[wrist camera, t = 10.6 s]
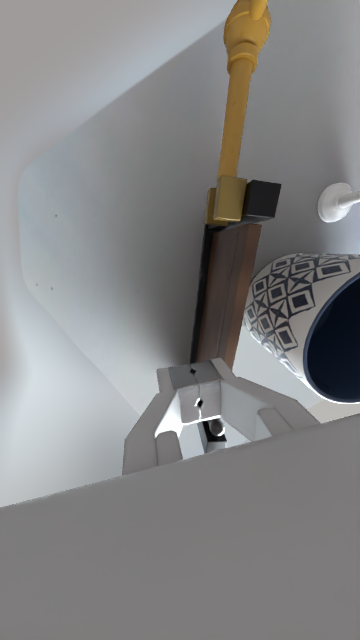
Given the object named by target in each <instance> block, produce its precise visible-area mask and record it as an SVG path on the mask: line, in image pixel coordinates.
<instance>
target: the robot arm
mask: <svg viewBox="0 0 360 640" xmlns="http://www.w3.org/2000/svg"><path fill="white" fill-rule="evenodd" d="M157 378H158V384H159V391H160V393H158V394H156V395H155V397H154V398H153V400H152V401H151V403H150V404H149V405H148V407H147V408H146V410H145V411H144V413H143V414H142V416H141V417H140V419H139V420H138V421H137V423H136V424H135V426H134V427H133V429H132V430H131V432H130V433H129V435H128V436H127V437H126V439H125V444H124V458H123V471H122V476H119V477H115V478H112V479H108V480H104V481H100V482H96V483H92V484H89V485H85V486H81V487H78V488H73V489H70V490H66V491H62V492H59V493H55V494H51V495H47V496H43V497H39V498H36V499H32V500H28V501H24V502H20V503H16V504H12V505H9V506H5V507H1V508H0V640H360V414H356V415H352V416H349V417H344V418H340V419H337V420H333V421H329V422H325V423H320V422H319V421H318V420H317V419H316V418H315V417H314V416H313V415H311V414H310V413H309V412H308V411H307V410H306V409H305V408H304V407H303V406H302V405H301V404H300V403H299V402H298V401H297V400H295V399H293V398H290V397H288V396H285V395H283V394H280V393H278V392H276V391H273V390H271V389H268V388H266V387H263V386H261V385H258V384H256V383H254V382H251V381H249V380H246V379H244V378H241V377H236V376H235V375H234V374H233V372H232V371H231V370H230V369H229V367H228V366H227V365H226V363H225V362H224V361H223V360H222V358H215V359H211V360H207V361H202V362H197V363H192V364H185V365H179V366H173V367H168V368H161V369H157ZM218 417H221V418H222V419H223V420H224V421H226V422H227V423H228V424H230V425H231V426H232V427H234V428H235V429H236V430H237V431H239V432H240V433H241V434H243V435H244V436H245V437H246V438H248V439H249V440H250V441H252V442H249V443H245V444H241V445H237V446H233V447H230V448H226V449H222V450H218V451H214V452H211V453H207V454H203V455H199V456H195V457H192V458H188V459H184V460H183V457H182V453H181V448H180V444H179V439H178V438H179V435H180V432H181V429H182V426H184V425H188V424H192V423H196V422H199V421H204V420H209V419H214V418H218Z"/></svg>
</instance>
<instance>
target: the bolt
mask: <svg viewBox="0 0 360 640" xmlns="http://www.w3.org/2000/svg"><path fill="white" fill-rule="evenodd" d="M268 1H269V0H238V1H237V2H236V4H235V5H234V7H233V9H232V11H231V13H230V14H229V16H228V18H227V20H226V23H225V28H224V44H225V47H226V50H227V53H228V62H227V71H228V73H229V75H230V78H229V87H228V95H227V103H226V111H225V119H224V128H223V136H222V144H221V152H220V161H219V169H218V177H217V181H218V179H219V177H220V176H222V175H223V176H230V177H236V175H237V169H238V162H239V155H240V148H241V142H242V135H243V128H244V121H245V115H246V108H247V101H248V94H249V88H250V81H251V74H253V72H254V71H255V69H256V67H257V62H258V54H259V53H260V51H261V49H262V47H263V45H264V44H265V42H266V40H267V38H268V35H269V31H270V25H271V17H270V13H269V11H268V6H267V3H268Z"/></svg>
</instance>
